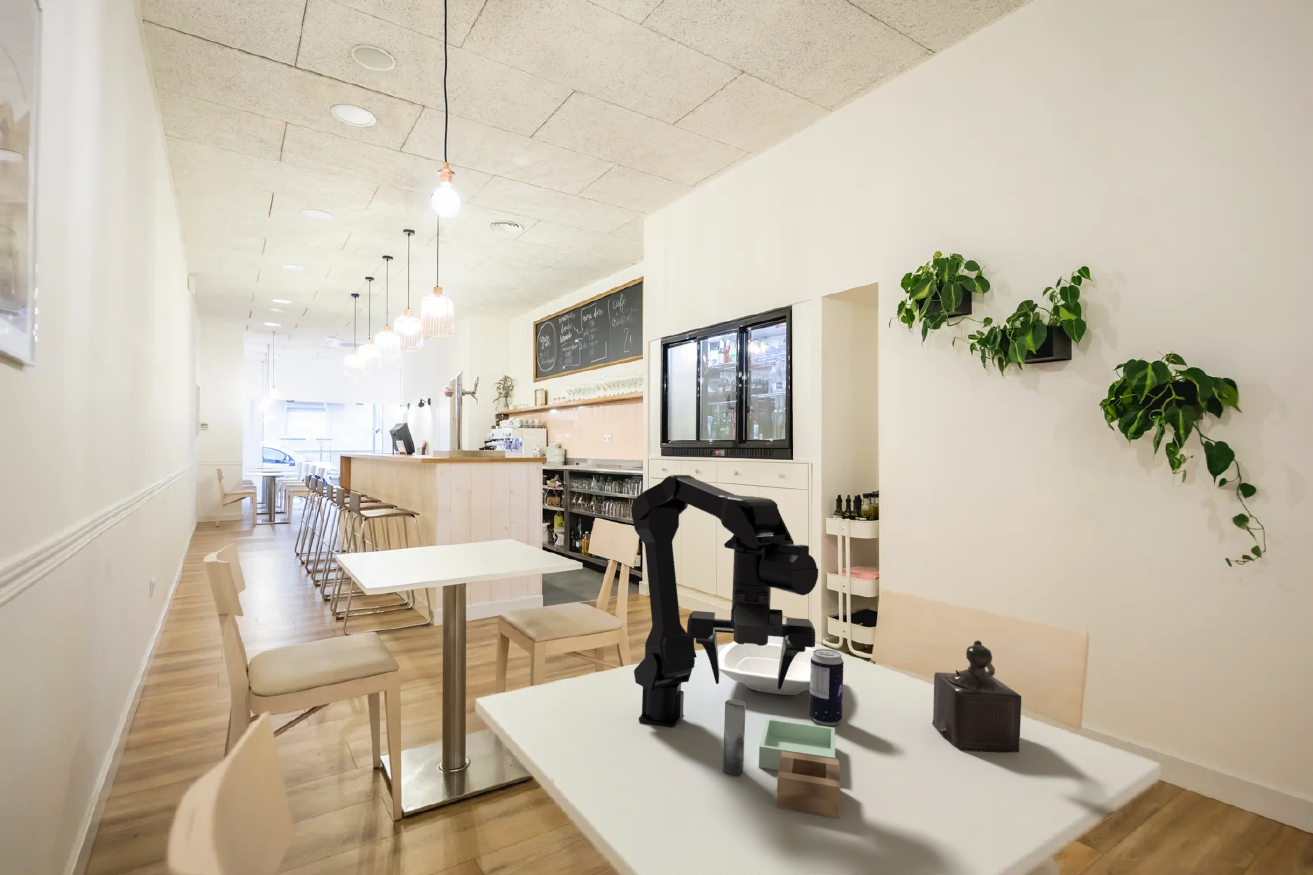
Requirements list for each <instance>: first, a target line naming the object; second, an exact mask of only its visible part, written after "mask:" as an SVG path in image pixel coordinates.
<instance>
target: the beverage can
mask: <svg viewBox="0 0 1313 875" xmlns="http://www.w3.org/2000/svg"><path fill="white" fill-rule="evenodd" d="M816 649H817V648H816ZM844 664H845V662H844V660H843V658H842V654H841V652H839V651H837V650H834V649H826V648H818V649H817V650H814V651H813V655H812V657H811V668H810V691H809V708H808V714H809V716H810V717H811V718H812V720H813V721H814V722H815V723H816V724H818V725H820V726H826V727H831V726H836V725H837V724H838V723H839V722H840V721H842V718H843V694H844Z"/></svg>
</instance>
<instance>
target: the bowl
mask: <svg viewBox="0 0 1313 875" xmlns="http://www.w3.org/2000/svg"><path fill="white" fill-rule="evenodd" d="M805 648H806V650H805V652H798V653H797V655H796V656H795V657H794V659H793V660H792V662H791V664H790V666H789V669H788V671H787V674H786V677H785V679H784V682H783V684H782V687H781V689H778V671H779V664H780V657H781V650H782V643H781V644H779V643H771V642H768V643H767V644H766V645H764V646H758V645H757V644H748V643H745V644H738V643H736V642H735V641H734V640H733V641H732V642H731V643H729V644H727V645H726V646H725V647H724V648H723V649H722V650H721V651H720V652H718V659H719V672H721V673H722V674H724V675H725V676H727V677H728V678H730V679H731V680H733V681H735V682H739V683H742V684H744V685H745V686H746V687H747V688H749V689H750V690H753V691H757V692H763V693H769V694H777V695H785V696H786V695H787V696H797V695H799V694H800V693H802V692H803V691H808V692H810V668H811V657H812V655H813V651H814V650H817V648H813V647H805Z"/></svg>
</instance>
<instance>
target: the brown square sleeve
mask: <svg viewBox="0 0 1313 875" xmlns="http://www.w3.org/2000/svg"><path fill="white" fill-rule="evenodd" d="M777 773H778V774H777V779H776V780H777V783H776V787H777V788H776V808H777V809H783V810H784V809H785V810H790V811H794V812H795V811H796V812H800V813H807V814H813V815H819V816H824V817H830V818H835V819H839V818H840V791H841V790H840V789H841V785H840V782H841V781H840V780H841V779H840V777H841V776H840V760H839V759H837V758H835V759H830V758H824V757H817V756H811V755H804V754H797V753H791V752H784V751H782V754H781V760H780V766H779V770H778V772H777Z"/></svg>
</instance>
